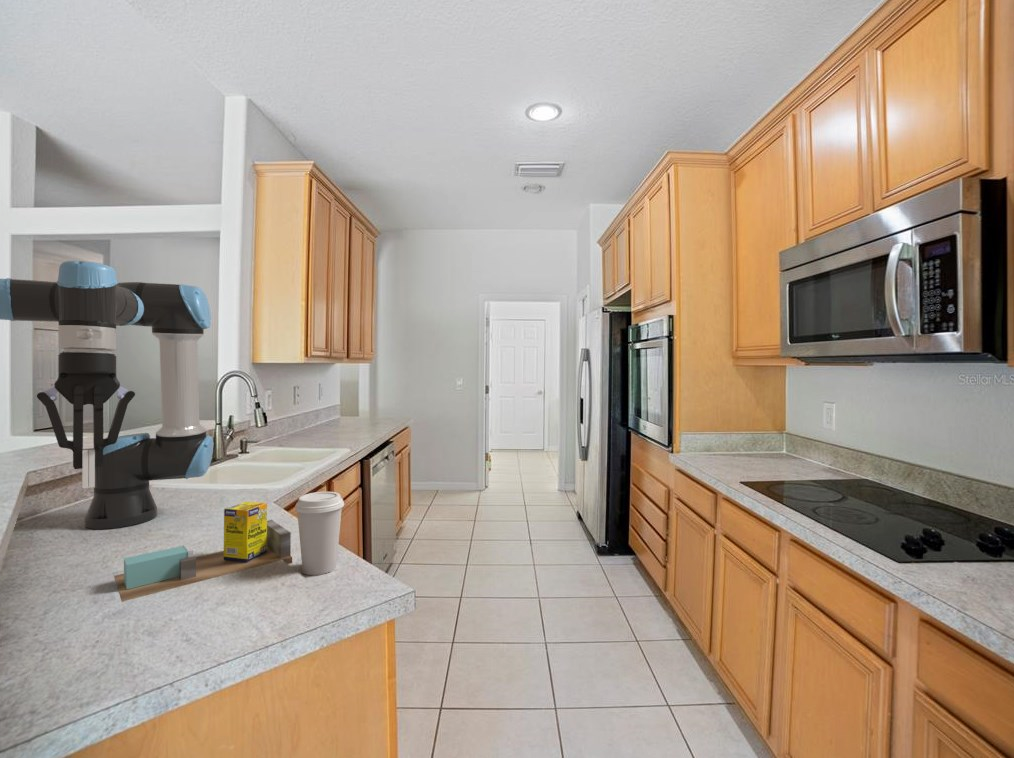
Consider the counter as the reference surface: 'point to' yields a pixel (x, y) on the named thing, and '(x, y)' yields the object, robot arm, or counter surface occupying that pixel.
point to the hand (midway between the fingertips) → (88, 486)
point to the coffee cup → (319, 530)
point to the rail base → (215, 565)
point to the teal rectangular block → (154, 566)
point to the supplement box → (245, 531)
